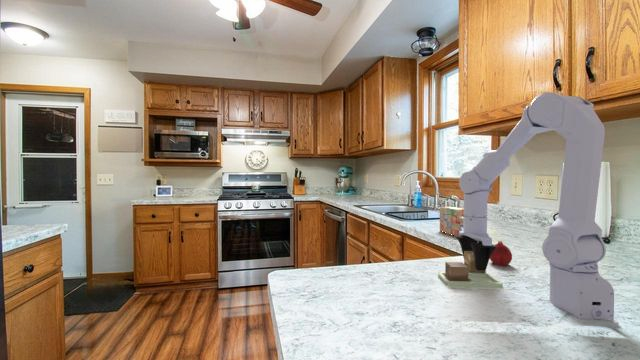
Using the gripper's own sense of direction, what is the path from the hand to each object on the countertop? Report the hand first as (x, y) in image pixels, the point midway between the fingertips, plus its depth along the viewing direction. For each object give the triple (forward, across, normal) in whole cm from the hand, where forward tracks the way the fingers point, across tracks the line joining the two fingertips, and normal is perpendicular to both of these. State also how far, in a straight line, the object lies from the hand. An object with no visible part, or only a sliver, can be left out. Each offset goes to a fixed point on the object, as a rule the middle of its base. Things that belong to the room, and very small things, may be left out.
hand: (474, 265), depth 79 cm
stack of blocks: (+3, -52, +16) cm, 55 cm away
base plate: (+2, +9, -5) cm, 10 cm away
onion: (+3, -6, +10) cm, 12 cm away
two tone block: (+2, 0, 0) cm, 3 cm away
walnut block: (+1, +9, -8) cm, 12 cm away
